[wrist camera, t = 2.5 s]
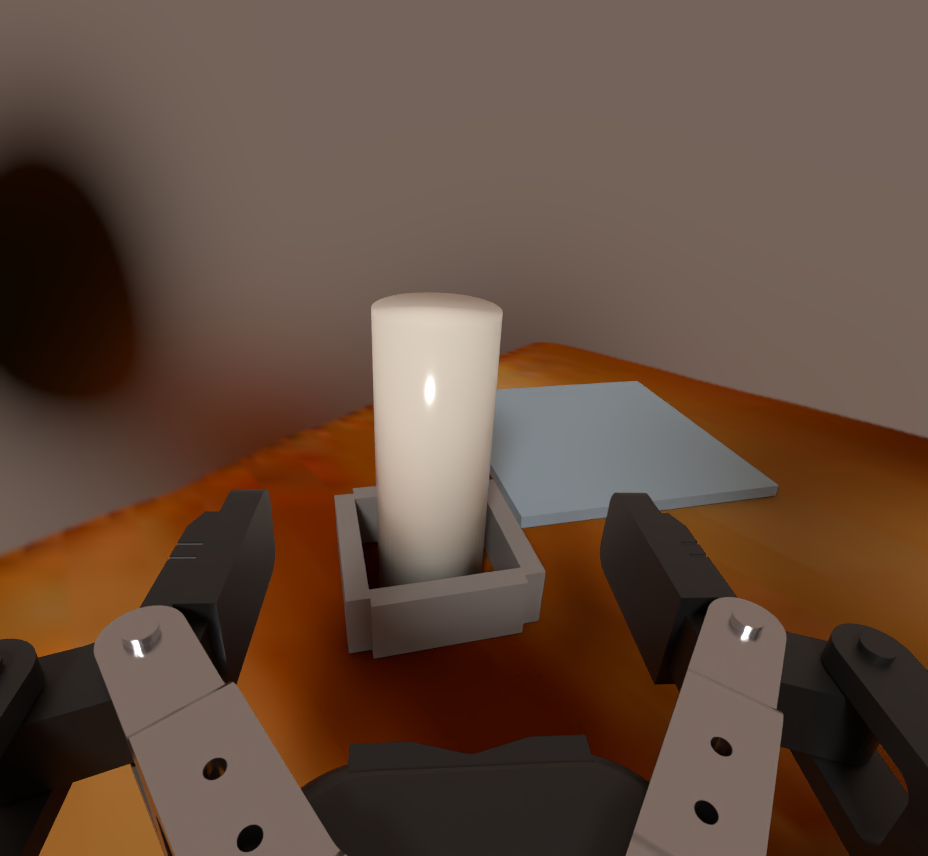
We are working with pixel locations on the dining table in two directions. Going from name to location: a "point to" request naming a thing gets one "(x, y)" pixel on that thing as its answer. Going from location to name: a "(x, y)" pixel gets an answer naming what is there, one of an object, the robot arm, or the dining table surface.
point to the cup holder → (436, 586)
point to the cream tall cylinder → (433, 432)
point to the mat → (607, 453)
